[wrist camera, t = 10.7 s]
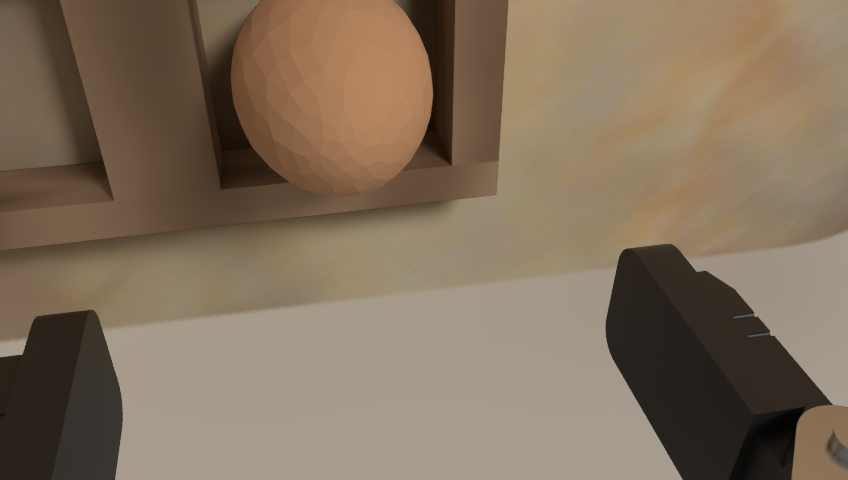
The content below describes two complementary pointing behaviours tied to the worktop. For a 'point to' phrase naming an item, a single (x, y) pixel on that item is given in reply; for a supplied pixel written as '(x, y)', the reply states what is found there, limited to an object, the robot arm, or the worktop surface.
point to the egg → (332, 91)
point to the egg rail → (199, 138)
